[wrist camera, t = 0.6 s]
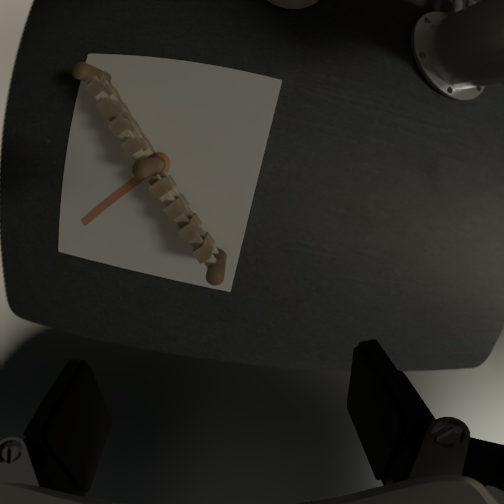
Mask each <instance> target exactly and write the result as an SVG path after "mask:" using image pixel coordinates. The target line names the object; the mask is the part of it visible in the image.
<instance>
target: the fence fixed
mask: <svg viewBox="0 0 504 504" xmlns="http://www.w3.org/2000/svg"><path fill="white" fill-rule="evenodd" d="M72 75H73V77H74V78H76V79H79V80H82V81H85V82H86V83H87V85H86V86H85V88H86V90H87V92H88V93H89V95H90V97H93V98H96V100H97V101H98V104H96V107H97V108H98V110H99V112H100V113H101V115H102V116H106V117H107V118H108V119H109V121H110V123H109V124H108V126H109V128H110V130H111V131H112V133H113V134H114V136H119V137H120V138H121V140H122V141H123V143H122V144H121V147H122V149H123V150H124V152H125V153H126V155H127V156H128V157H130V156H132V157H133V159H134V160H135V161H136V160H137V161H136V162H135V163H134V164H133V166H132V172H133V174H134V176H135V177H137V178H139V179H143V178H146V177H149V176H151V175H154V174H157V173H160V172H162V171H163V170H164V169H165V167H166V162H165V160H164V159H163V158H162V157H159V156H157V157H151V158H148V157H149V156H150V155H152V154H153V152H152V151H151V150H152V149H153V146H152V145H151V143H150V141H149V140H148V138H143V137H142V135H141V134H140V131H142V129H141V128H140V126H139V124H138V123H137V121H136V120H132V119H131V118H130V116H129V114H130V113H131V112H130V110H129V109H128V107H127V106H126V104H125V103H122V102H120V101H119V99H118V98H119V97H120V95H119V93H118V91H117V90H116V88H115V87H113V86H110V85H109V83H110V82H111V75H110V74H109V73H107V72H104V71H102V70H100V69H98V68H96V67H94V66H92V65H89V64H87V63H85V62H79V63H77V64H76V65H75V66H74V68H73V70H72ZM140 158H143V159H140Z"/></svg>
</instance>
